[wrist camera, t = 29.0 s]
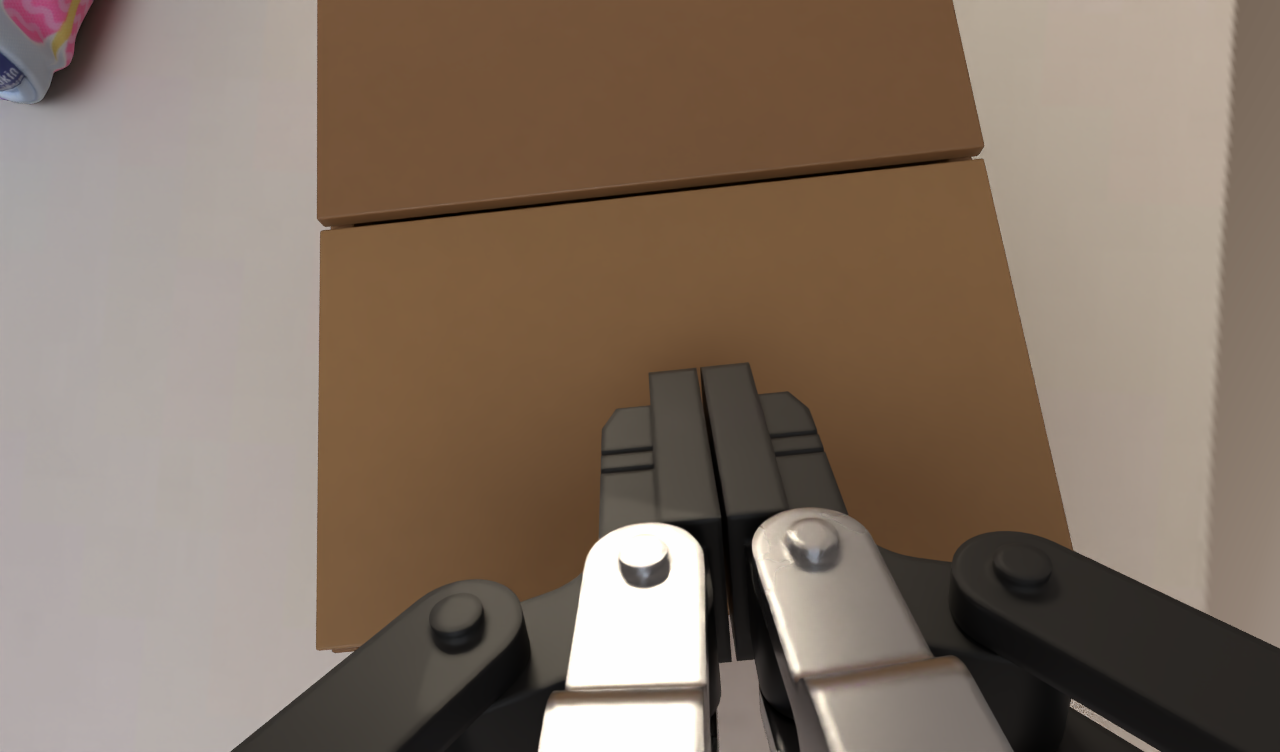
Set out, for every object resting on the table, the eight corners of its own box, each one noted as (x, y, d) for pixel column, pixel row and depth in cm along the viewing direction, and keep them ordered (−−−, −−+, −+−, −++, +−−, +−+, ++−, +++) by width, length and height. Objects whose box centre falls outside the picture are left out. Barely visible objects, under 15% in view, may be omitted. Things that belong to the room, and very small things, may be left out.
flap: (1069, 577, 15) (1080, 576, 14) (324, 650, 15) (314, 650, 15) (977, 167, 17) (984, 157, 17) (327, 238, 17) (319, 229, 17)
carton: (921, 590, 24) (1085, 581, 14) (462, 635, 25) (312, 656, 15) (834, 90, 28) (914, -186, 19) (442, 134, 29) (314, -115, 19)
